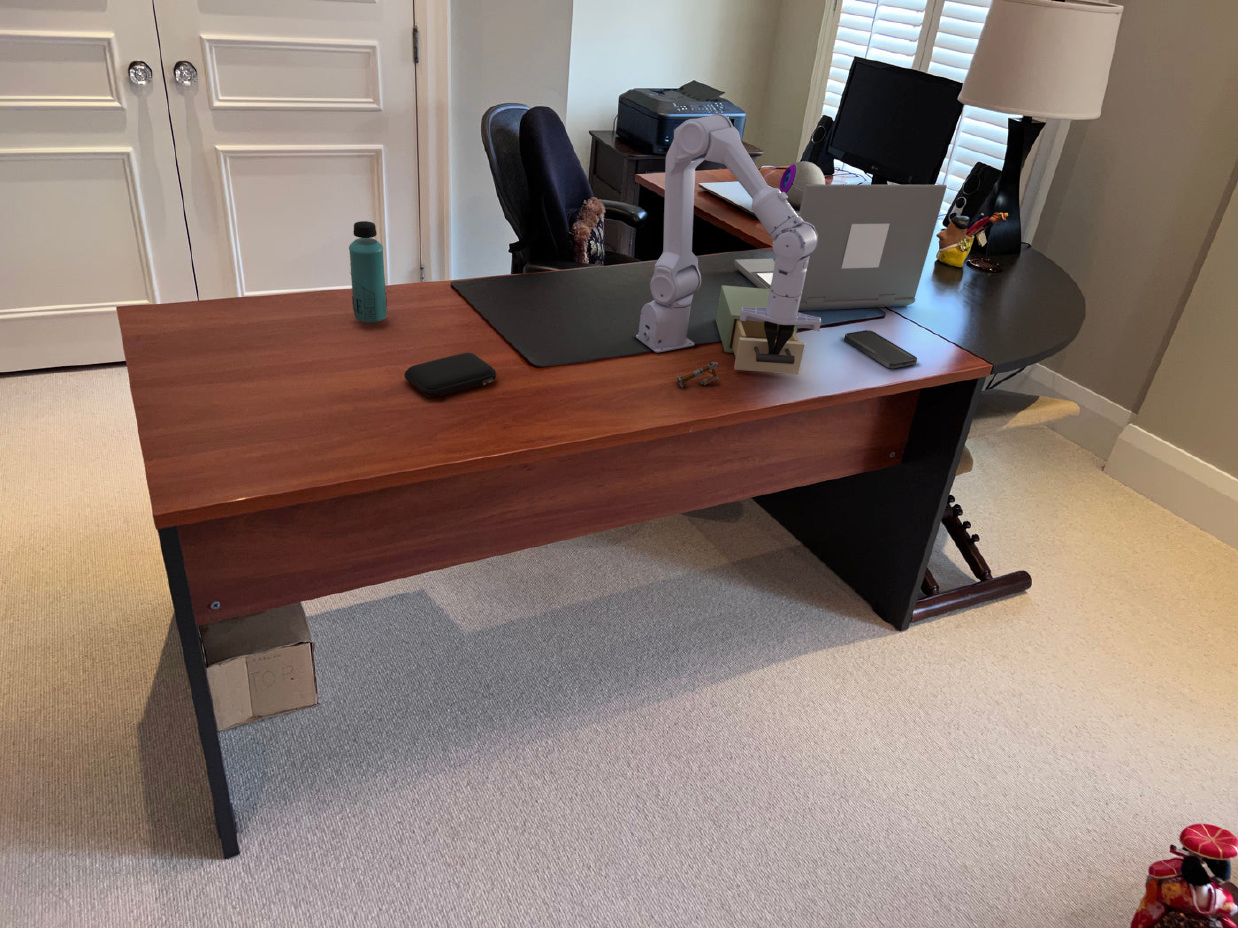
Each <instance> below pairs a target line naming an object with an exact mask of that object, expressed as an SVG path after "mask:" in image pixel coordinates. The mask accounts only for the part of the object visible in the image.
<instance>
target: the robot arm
mask: <svg viewBox="0 0 1238 928" xmlns="http://www.w3.org/2000/svg"><path fill="white" fill-rule="evenodd" d="M704 161H707V162H713V163H717V164H722V165H724V166H725V167H726V168H727V169H728V171H729V172H730V173H731V174H732V176H733V177H734V178H735V179H736V180H737V182H738V183H739V185H741V187H742V188H743V189H744V190H745V192H746V193H747V194H748V195H749V197H750V198H751V200H752V201H751V210H752V212H753V214H754V215H755V216H756V218H757V219H758V220H759V222H760V224H761V225H762V226H763V228H764V229H765V231H766V232H767V233H768V234H769V236H770V237H771V239H772V251H773V253H774V256H775V258H776V262H775V266H774V271H773V277H772V282H771V287H770V292H769V297H768V302H767V307H766V308H747V307H742V308H741V314H740V321H746V320H751V321H758V322H764V330H765V334H766V337H767V342H768V349H769V352H768V354H778V355H779V353H780V352H781V350H782V348H783V347H784V345H785V344H786V342H787V341H788V340H789V339H790V338H791V337H792V335H793V333H794V326H795V327H798V328H803V329H810V330H812V331H814V332H819V331H820V328H821V323H822V319H821V317H820V316H814V315H810V314H806V313H803V312H800V311H798V309H799V304H800V299H801V295H802V290H803V285H804V281H805V276H806V271H807V266H808V261H809V257H810V256H807V255H809V254H810V253H812V252H813V251H814V250H815V248H816V247H817V244H818V235H817V232H816V230H815V228H814V226H813V225H812V224H810V223H808V222H804V221H803V219H802V218H801V217H800V216H799V217H798V215H797V214H796V212H795V211H794V210H793V208H792V207H791V205H790V204H789V203H788V201H787V200H786V199H787V198H788V196H787V195H786V193H785V192H782V193H781V191H780V188H777V187H772V186H769V185H768V183H767V182H766V180H765V178H764V177H763V175H762V173H761V172H760V170H759V168H758V167H757V165H756V164H755V162H754V160H753V159H752V157H751V156H750V154H749V152H748V150H747V149H746V148H745V145H743V143H742V139H741V134H740V132H739V130H738V129H737V128H736V127H735V126H733V123H732V121H731V119H730V118H729V117H728V116H727V115H725V114H724V113H723V114H722V113H713V114H711V115H708V116H702V117H698V118H690V119H687V120H685V121H683V122H682V123H681V124H680V125H678V126H677V127H676V128H675V129H674V130H673V140H672V142H671V144H670V146H669V149H668V151H667V153H666V155H665V165H664V166H665V173H664V207H663V210H664V212H663V246H662V247H663V248H662V249H663V250H662V253H661V255H660V257H659V258H658V260H657V261H655V264H654V266H653V267H654V268H653V270H654V271H653V275H652V277H651V278H650V281H649V290H650V293H651V296H652V297H653V300H652V301H650V302H647V303H645V304H643V306H642V307H641V310H640V315H639V316H640V317H639V324H638V333H637V334H636V335H635V338H636V339H637V340H639V341H640V342H641V343H643V344H644V345H645V346H646V347H648V348H649V349H651V350H652V351H653V352H654V353H656V354H657V353H658V354H659V353H663V352H670V351H673V350H674V351H675V350H681V349H685V348H690V347H694V346H695V344H696V343H695V342H694V341H692V340H691V339H689V338H688V337H687V336H688V330H689V329H688V328H689V322H690V316H691V309H692V303H693V302H692V301H693V299H694V293H696V292H698V291H699V290H700V288H701V285H702V274H701V272H700V269H699V259H698V257H697V256H696V255H695V254H694V252H693V233H694V229H693V228H694V205H695V183H696V182H695V181H696V168H698V166H699V165H700V164H702V163H703V162H704ZM778 324H779V327H778ZM777 329H778V331H777ZM776 337H777V339H776ZM775 341H776V343H775ZM774 345H775V347H774Z"/></svg>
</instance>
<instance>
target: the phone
mask: <svg viewBox="0 0 1238 928" xmlns="http://www.w3.org/2000/svg"><path fill="white" fill-rule="evenodd" d="M843 341H844V342H846V343H848V344H849V345H851V346H852V347H854V348H855V349H856V350H858V351H860V352H862V353H864V354H865V355H866V356H868V357H870V358H871V359H873V360H875V361H876V362H878V363H879V364H881V365H883V366H884V367H886V368H888V369H892V370H893V369H900V368H905V367H911V366H915V365H916V364H917V361H918V357H917V356H915V355H914V354H912V353H911V352H909V351H907V350H905V349H904V348H902V347H900V346H899V345H897V344H896V343H893V342H892V341H890V340H889V339H887V338H885V337H884V336H882V335H880V334H879V333H877V332H875V331H873V330H870V329H864V330H858V331H853V332H846V333H844V337H843Z"/></svg>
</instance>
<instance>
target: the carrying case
mask: <svg viewBox="0 0 1238 928" xmlns="http://www.w3.org/2000/svg"><path fill="white" fill-rule="evenodd" d="M403 375H404V376H403V377H404V380H406V381H407V382H409V384H411V385H412V386H414V388H416V389H417V390H418V391H419V392H420V393H421V394H423V395H424V396H426V397H427V398H431V399H435V398H439V397H443V396H447V395H451V394H455V393H459V392H463V391H466V390H469V389H474V388H476V387H483V388H484V387H485V386H487V385H489V384H491V383H493V382H494V381H495V379H496V378H497V371H496V370H495V368H494V367H493V366H492V365H490V364H488V363H487V362H486V361H485V360H483V359H482V358H481V357H479V356H478V355H476V354H475V353H473V352H463V353H458V354H454V355H450V356H449V355H448V356H445V357H442V358H438V359H433V360H429V361H426V362H422V363H418V364H414V365H411V366H410V367H408V368H407V369H406V370H405V371H404V374H403Z"/></svg>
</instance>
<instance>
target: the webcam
mask: <svg viewBox="0 0 1238 928" xmlns="http://www.w3.org/2000/svg"><path fill="white" fill-rule="evenodd" d="M805 184H826V179H825V175H824V173H823V171H822V169H821V168H820V167H819V166H817V165H816V164H815V163H813V162H810V161H804V160H803V161H797V162H795V163H792V164H790V165H789V166H787V168H786V169H785V170H784V172H783V173H782V175H781V178H780V181H779V190H780V191H781V193H782V192H785V193H786V195H787V196H788V198H787V199H786V200H787V201H788V203H789V204H790V205H791V207H792V208H793V210H794V211H795V212H796V214H797V215H798V217H799V213H800V208H801V203H802V198H803V193H804V188H805Z"/></svg>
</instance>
